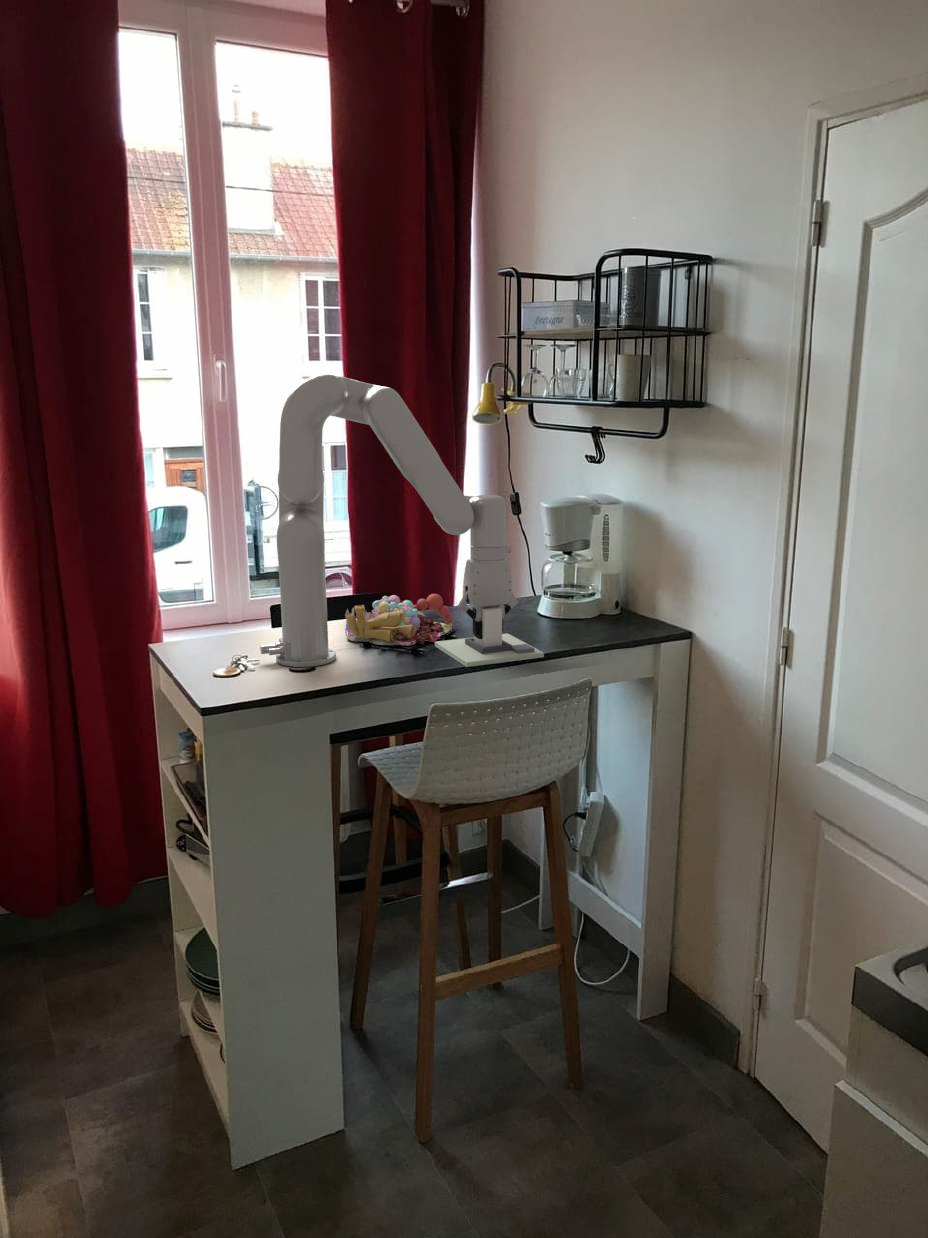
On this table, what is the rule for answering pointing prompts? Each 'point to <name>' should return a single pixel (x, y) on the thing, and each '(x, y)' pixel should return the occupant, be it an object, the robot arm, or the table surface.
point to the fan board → (488, 651)
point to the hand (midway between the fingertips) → (487, 635)
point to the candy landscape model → (397, 621)
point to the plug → (491, 627)
